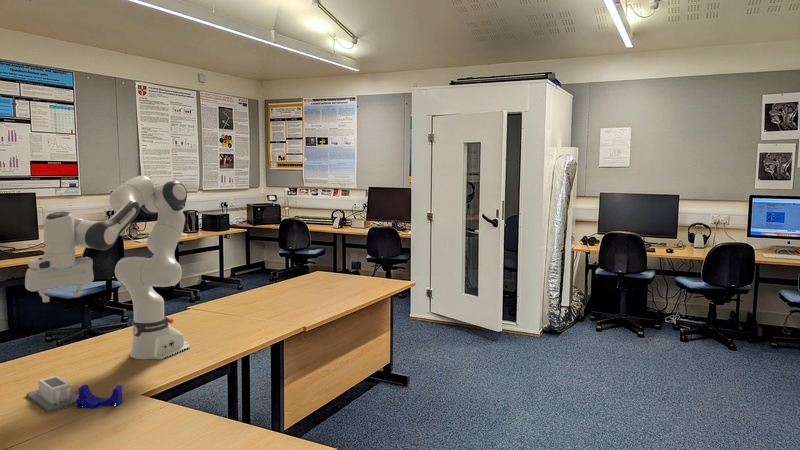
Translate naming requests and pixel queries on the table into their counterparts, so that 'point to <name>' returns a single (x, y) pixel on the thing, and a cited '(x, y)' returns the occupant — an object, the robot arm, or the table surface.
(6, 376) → the table surface
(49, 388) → the block
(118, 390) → the cable clip
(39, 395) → the pin tray
